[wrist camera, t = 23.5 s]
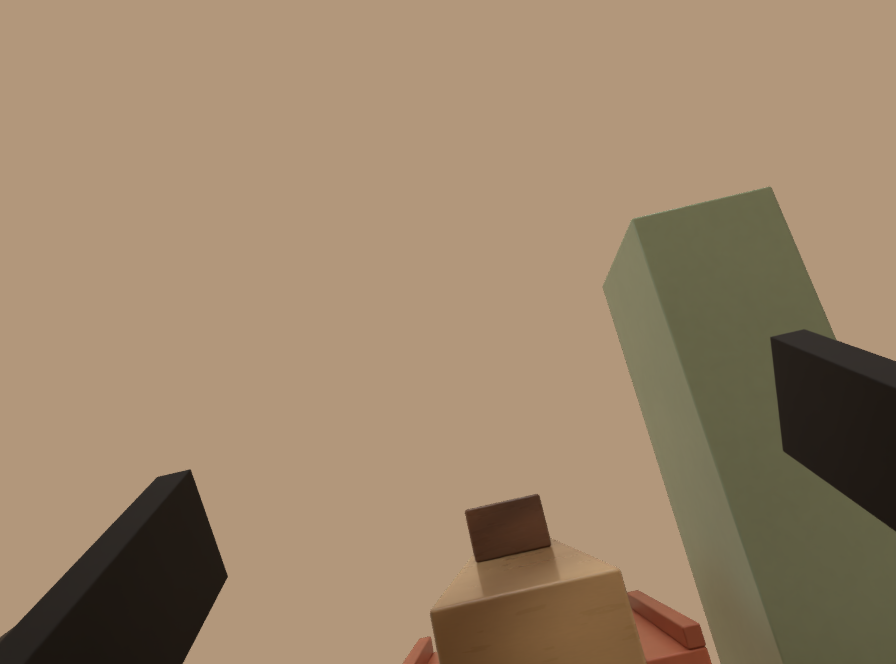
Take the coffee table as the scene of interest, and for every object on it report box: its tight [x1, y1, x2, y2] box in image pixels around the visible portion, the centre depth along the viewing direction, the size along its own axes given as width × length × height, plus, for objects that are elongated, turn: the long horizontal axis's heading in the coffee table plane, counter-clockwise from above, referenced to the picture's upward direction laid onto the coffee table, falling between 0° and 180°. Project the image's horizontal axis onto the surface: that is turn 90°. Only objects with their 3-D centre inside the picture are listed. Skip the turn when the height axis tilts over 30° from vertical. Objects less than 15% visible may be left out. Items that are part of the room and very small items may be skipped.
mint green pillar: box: [603, 187, 896, 664], centre depth 25 cm, size 6×8×33 cm
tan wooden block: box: [430, 494, 647, 664], centre depth 21 cm, size 4×18×5 cm, turn 175°
